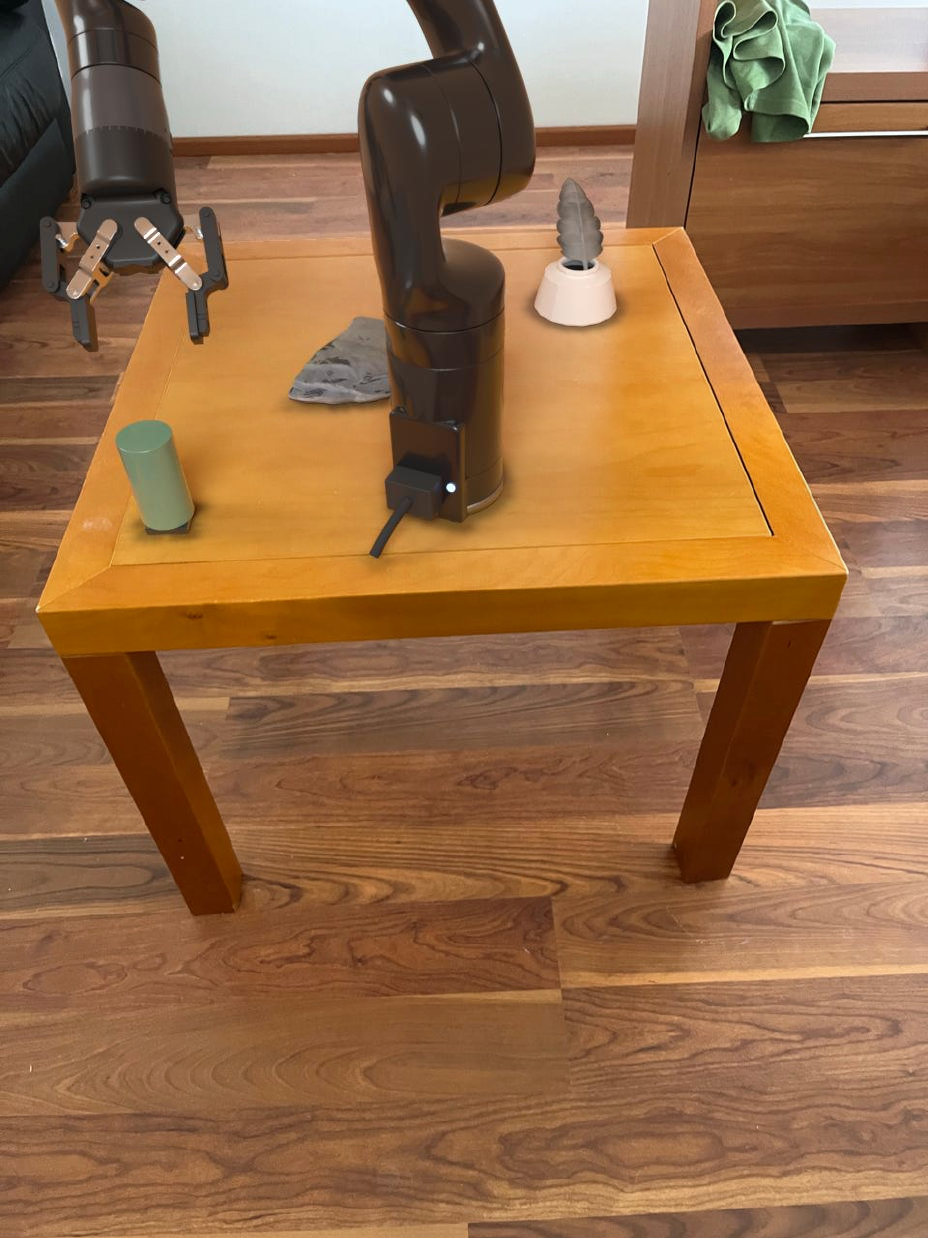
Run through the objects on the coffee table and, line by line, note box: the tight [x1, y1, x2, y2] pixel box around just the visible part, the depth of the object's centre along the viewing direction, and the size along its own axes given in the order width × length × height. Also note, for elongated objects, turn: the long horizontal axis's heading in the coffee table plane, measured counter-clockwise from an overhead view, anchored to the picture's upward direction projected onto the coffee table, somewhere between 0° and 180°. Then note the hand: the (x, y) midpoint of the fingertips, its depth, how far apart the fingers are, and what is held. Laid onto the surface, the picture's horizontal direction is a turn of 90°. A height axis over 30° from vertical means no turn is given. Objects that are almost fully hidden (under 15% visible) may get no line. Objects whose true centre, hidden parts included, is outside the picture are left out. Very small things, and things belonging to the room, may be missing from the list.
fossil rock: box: [287, 316, 390, 405], centre depth 94 cm, size 18×15×2 cm
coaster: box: [144, 501, 196, 535], centre depth 79 cm, size 4×4×1 cm
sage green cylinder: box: [114, 419, 195, 530], centre depth 76 cm, size 4×4×8 cm
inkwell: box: [533, 177, 618, 327], centre depth 103 cm, size 9×18×10 cm, turn 5°
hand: (144, 345), depth 76 cm, fingers open, 8 cm apart
